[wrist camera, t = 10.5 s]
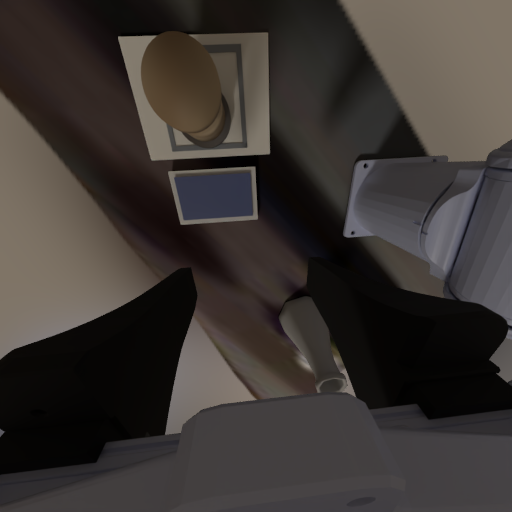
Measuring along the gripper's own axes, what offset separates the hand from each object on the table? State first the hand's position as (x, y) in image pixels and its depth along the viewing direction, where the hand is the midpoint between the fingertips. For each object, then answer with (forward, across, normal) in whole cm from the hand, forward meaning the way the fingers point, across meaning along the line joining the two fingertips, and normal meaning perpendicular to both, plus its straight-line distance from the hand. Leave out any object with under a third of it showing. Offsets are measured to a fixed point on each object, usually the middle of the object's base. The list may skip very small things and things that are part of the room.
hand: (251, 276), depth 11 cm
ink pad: (+10, +3, -4) cm, 11 cm away
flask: (+11, -7, +14) cm, 19 cm away
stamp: (+10, +3, -10) cm, 14 cm away
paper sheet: (+10, +3, -11) cm, 15 cm away
